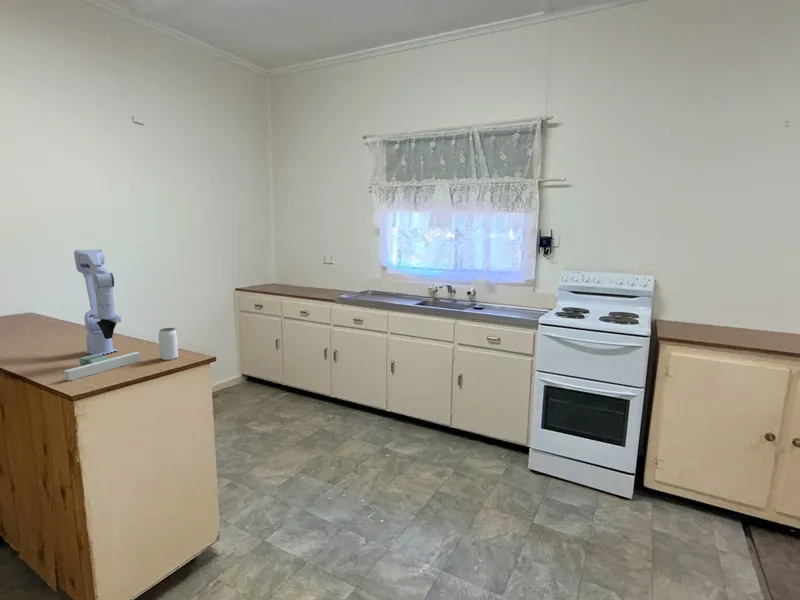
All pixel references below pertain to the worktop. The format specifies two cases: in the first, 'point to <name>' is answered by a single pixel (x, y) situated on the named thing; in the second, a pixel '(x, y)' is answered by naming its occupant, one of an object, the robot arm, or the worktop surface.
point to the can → (168, 343)
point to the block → (92, 359)
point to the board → (101, 366)
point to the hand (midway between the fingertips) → (108, 338)
